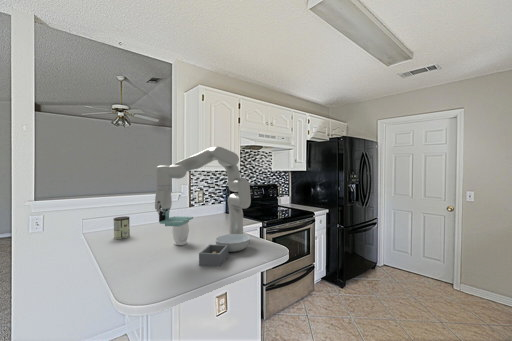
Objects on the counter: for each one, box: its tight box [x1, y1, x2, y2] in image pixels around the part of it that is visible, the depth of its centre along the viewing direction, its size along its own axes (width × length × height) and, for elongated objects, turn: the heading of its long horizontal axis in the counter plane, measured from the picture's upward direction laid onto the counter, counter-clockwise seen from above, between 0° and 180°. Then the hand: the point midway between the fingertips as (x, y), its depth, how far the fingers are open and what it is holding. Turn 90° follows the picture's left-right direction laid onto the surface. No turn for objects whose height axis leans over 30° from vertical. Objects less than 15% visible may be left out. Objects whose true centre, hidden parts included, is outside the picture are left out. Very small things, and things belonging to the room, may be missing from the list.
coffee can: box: [113, 215, 131, 240], centre depth 179 cm, size 10×10×14 cm
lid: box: [159, 210, 194, 227], centre depth 133 cm, size 16×16×7 cm
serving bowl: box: [214, 233, 251, 253], centre depth 148 cm, size 21×21×7 cm
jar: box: [171, 222, 190, 246], centre depth 160 cm, size 11×10×15 cm
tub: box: [198, 243, 229, 267], centre depth 130 cm, size 15×11×6 cm
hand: (164, 221), depth 134 cm, fingers closed on lid, 3 cm apart
